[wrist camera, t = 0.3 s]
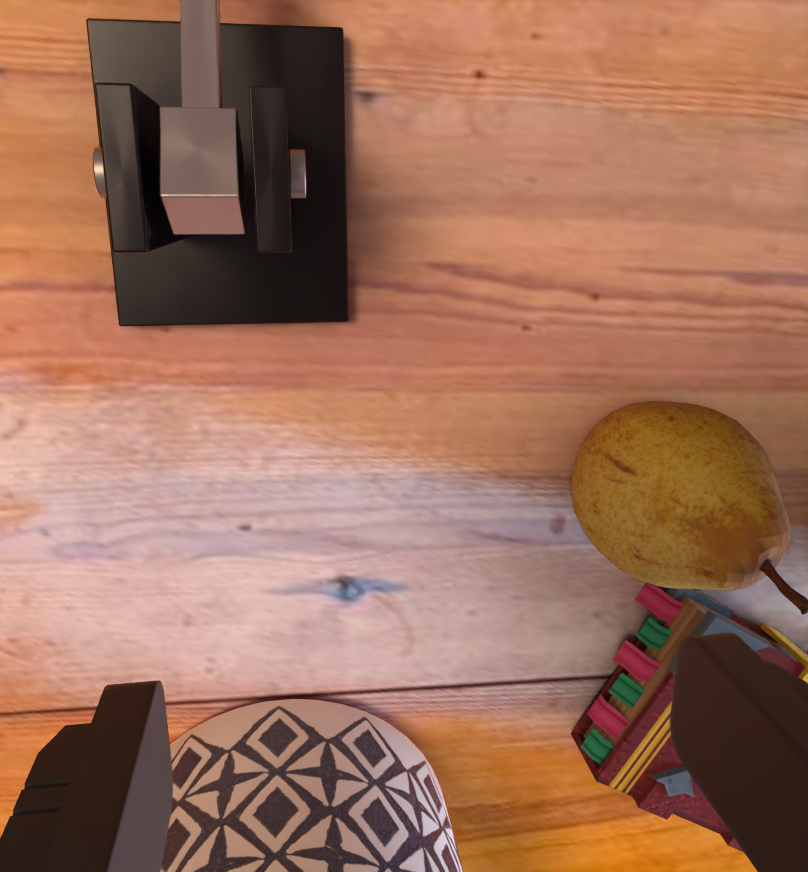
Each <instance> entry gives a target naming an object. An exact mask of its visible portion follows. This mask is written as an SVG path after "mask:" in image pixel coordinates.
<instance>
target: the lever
mask: <svg viewBox="0 0 808 872" xmlns="http://www.w3.org/2000/svg"><path fill="white" fill-rule="evenodd" d="M180 12H181V79H182V107H159V196H160V198H161V201H162V204H163V207H164V210H165V212H166V215H167V218H168V221H169V223H170V226H171V229H172V232H173V234H245V232H246V231H245V199H244V167H243V150H242V142H241V135H240V127H239V120H238V112H237V109H235V108H222V74H221V36H220V0H180Z"/></svg>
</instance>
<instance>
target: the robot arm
mask: <svg viewBox="0 0 808 872" xmlns="http://www.w3.org/2000/svg"><path fill="white" fill-rule="evenodd" d="M670 731H671V737H672V741H673V744H674V747H675V750H676V753H677V755H678V757H679V759H680V760H681V762H682V763H683V765H684V766H685V768H686V769H687V771H688V772H689V773H690V775H691V776H692V778H693V779H694V781H695V782H696V784H697V785H698V786H699V788H700V789H701V791H702V792H703V794H704V795H705V796H706V798H707V799H708V801H709V802H710V804H711V805H712V807H713V808H714V809H715V811H716V812H717V814H718V815H719V817H720V818H721V819H722V821H723V822H724V824H725V825H726V827H727V828H728V830H729V831H730V832H731V834H732V835H733V837H734V838H735V840H736V841H737V842H738V844H739V845H740V847H741V848H742V850H743V851H744V853H745V854H746V855H747V857H748V858H749V860H750V861H751V863H752V864H753V865H754V867H755V868H756V870H757V871H758V872H808V683H807V682H805V681H804V680H803V679H801V678H799V677H797V676H796V675H794V674H792V673H790V672H788V671H787V670H785V669H783V668H781V667H780V666H778V665H776V664H774V663H772V662H765V661H764V660H763V659H762V658H761V657H760V656H759V655H758V654H757V653H756V652H755V651H754V650H752V649H751V648H750V647H749V646H748V645H747V644H746V643H745V642H744V641H743V640H742V639H741V638H740V637H739V636H738V635H736V634H734V633H722V634H711V635H699V636H688V637H685V638H684V639H683V640H682V642H681V643H680V646H679V651H678V659H677V667H676V674H675V682H674V690H673V698H672V706H671V713H670ZM172 797H173V771H172V760H171V751H170V742H169V733H168V724H167V715H166V707H165V698H164V690H163V686H162V683H161V681H147V682H136V683H124V684H113V685H107V686H106V687H105V688H104V690H103V693H102V695H101V698H100V701H99V704H98V706H97V709H96V712H95V715H94V717H93V720H92V723H88V724H77V725H66V726H65V727H64V728H63V729H62V730H61V731H60V732H59V733H58V734H57V735H56V736H55V737H54V738H53V739H52V740H51V741H50V742H49V743H48V744H47V745H46V746H45V747H44V748H43V749H42V750H41V751H40V752H39V753H38V755H37V757H36V759H35V762H34V764H33V766H32V768H31V771H30V773H29V775H28V777H27V780H26V782H25V788H24V790H22V791H21V793H20V795H19V798H18V800H17V802H16V805H15V807H14V809H13V816H10V818H9V820H8V823H7V825H6V827H5V829H4V832H3V834H2V836H1V838H0V872H160V870H161V865H162V859H163V854H164V849H165V843H166V838H167V832H168V827H169V822H170V816H171V809H172Z"/></svg>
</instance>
